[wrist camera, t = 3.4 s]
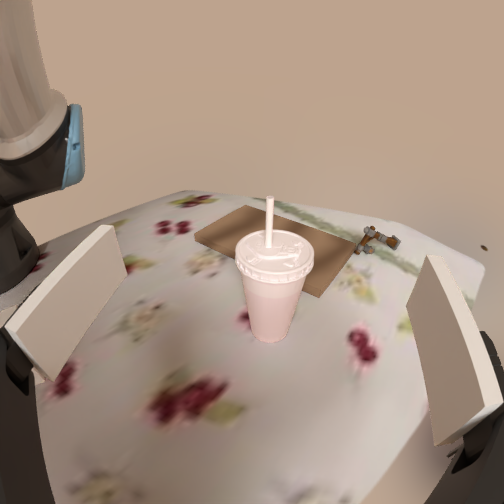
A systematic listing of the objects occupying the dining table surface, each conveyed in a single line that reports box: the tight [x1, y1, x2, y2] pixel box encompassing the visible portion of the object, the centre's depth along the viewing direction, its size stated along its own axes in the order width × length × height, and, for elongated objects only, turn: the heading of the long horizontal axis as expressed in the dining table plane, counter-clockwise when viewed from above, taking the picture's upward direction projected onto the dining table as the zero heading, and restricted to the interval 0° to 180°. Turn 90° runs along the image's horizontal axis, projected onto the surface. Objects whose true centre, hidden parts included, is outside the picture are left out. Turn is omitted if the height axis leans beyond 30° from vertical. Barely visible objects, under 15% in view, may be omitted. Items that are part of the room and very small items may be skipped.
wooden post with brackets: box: [354, 226, 401, 255], centre depth 39 cm, size 2×8×4 cm, turn 108°
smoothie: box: [235, 196, 314, 343], centre depth 24 cm, size 6×6×14 cm
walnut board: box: [194, 205, 356, 298], centre depth 40 cm, size 20×12×1 cm, turn 53°
